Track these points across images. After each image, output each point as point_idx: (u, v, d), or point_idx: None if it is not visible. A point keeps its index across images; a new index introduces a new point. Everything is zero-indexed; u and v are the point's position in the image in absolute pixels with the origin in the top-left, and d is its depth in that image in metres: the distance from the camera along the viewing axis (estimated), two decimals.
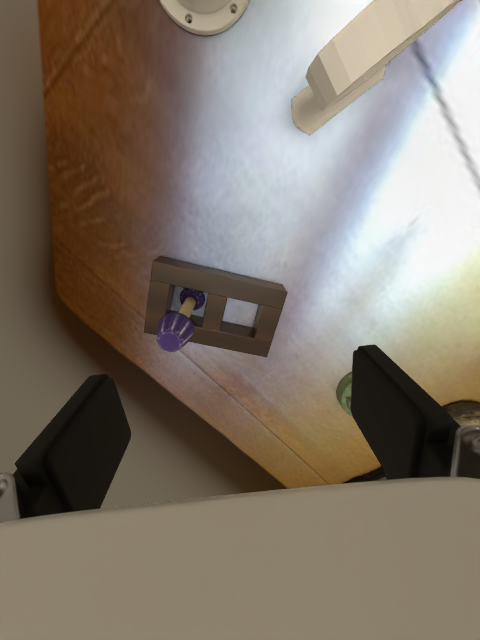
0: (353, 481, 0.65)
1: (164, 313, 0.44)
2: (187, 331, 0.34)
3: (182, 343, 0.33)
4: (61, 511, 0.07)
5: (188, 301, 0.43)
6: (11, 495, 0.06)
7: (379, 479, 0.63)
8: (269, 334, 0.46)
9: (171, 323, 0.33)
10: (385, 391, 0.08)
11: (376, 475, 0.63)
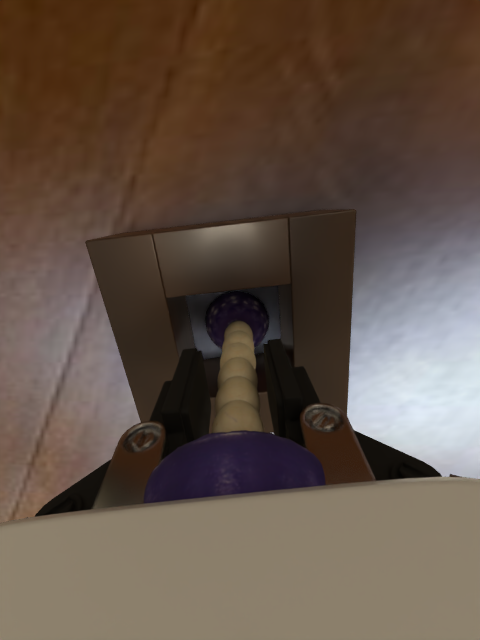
0: None
1: (187, 292, 0.13)
2: None
3: None
4: None
5: (253, 346, 0.14)
6: (167, 435, 0.07)
7: None
8: None
9: None
10: (270, 378, 0.09)
11: None
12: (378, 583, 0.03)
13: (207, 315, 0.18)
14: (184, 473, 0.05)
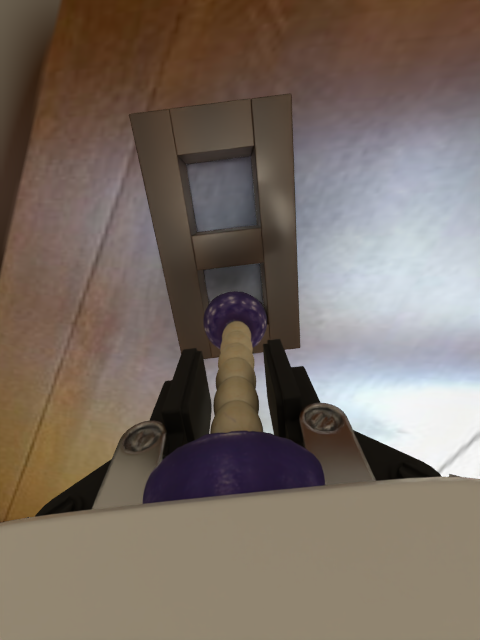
0: None
1: (190, 151, 0.21)
2: None
3: None
4: None
5: (251, 347, 0.14)
6: (167, 436, 0.07)
7: None
8: None
9: None
10: (270, 378, 0.09)
11: None
12: (378, 583, 0.03)
13: (205, 315, 0.18)
14: (183, 474, 0.05)
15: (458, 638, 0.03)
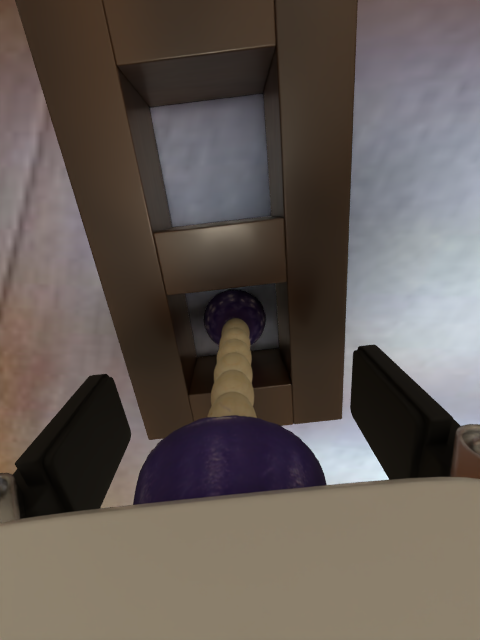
0: None
1: (144, 56, 0.10)
2: None
3: None
4: (61, 511, 0.07)
5: (249, 343, 0.15)
6: (11, 495, 0.06)
7: None
8: None
9: None
10: (385, 391, 0.08)
11: None
12: (378, 583, 0.03)
13: (205, 313, 0.18)
14: (178, 453, 0.06)
15: (458, 638, 0.03)
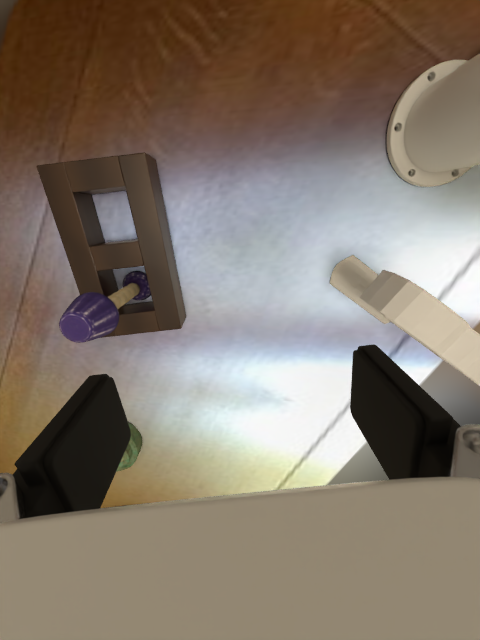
0: None
1: (81, 189, 0.31)
2: (100, 336, 0.26)
3: None
4: (61, 511, 0.07)
5: (133, 291, 0.36)
6: (11, 495, 0.06)
7: None
8: (123, 329, 0.37)
9: (100, 317, 0.25)
10: (385, 391, 0.08)
11: None
12: (378, 582, 0.03)
13: (123, 282, 0.39)
14: (77, 297, 0.26)
15: (457, 637, 0.03)
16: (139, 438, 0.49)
